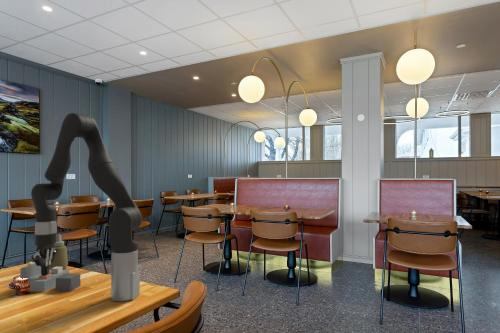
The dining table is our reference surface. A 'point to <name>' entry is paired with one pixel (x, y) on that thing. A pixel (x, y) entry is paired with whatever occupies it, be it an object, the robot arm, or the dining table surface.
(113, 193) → the robot arm
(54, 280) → the breaker box
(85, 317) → the dining table surface
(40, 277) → the breaker button
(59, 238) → the squeeze bottle
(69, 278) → the grey square block
